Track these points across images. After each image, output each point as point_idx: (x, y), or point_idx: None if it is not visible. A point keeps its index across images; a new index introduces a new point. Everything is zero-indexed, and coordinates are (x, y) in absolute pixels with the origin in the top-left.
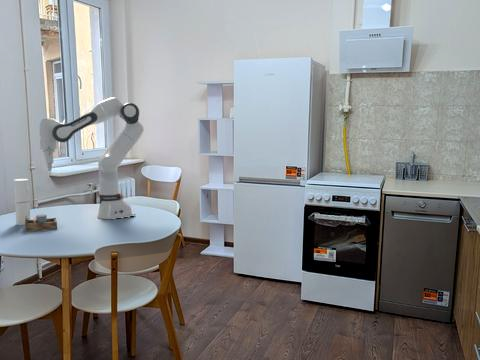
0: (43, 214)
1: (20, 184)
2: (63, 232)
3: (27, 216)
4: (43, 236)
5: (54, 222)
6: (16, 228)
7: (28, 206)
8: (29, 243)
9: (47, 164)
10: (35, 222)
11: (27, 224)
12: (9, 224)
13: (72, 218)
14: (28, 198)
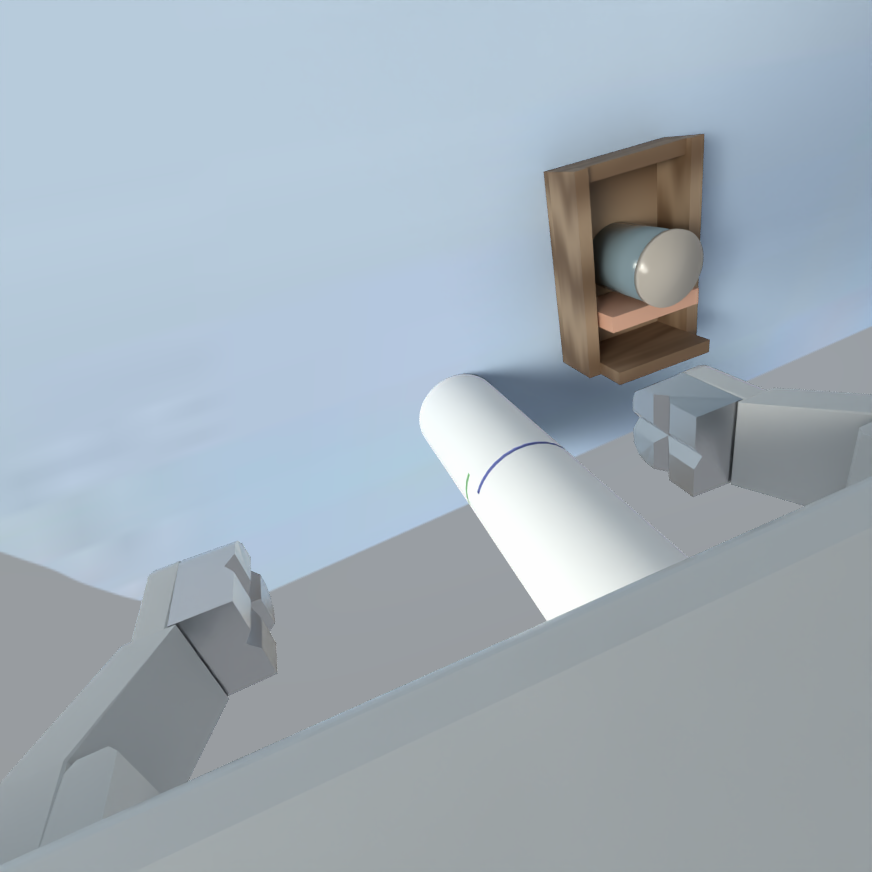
0: (645, 261)
1: None
2: (752, 72)
3: (620, 370)
4: (782, 195)
5: (701, 153)
6: (569, 407)
7: (531, 425)
8: (862, 237)
9: (190, 762)
10: None
11: (695, 328)
12: None
13: (327, 49)
14: (560, 456)
